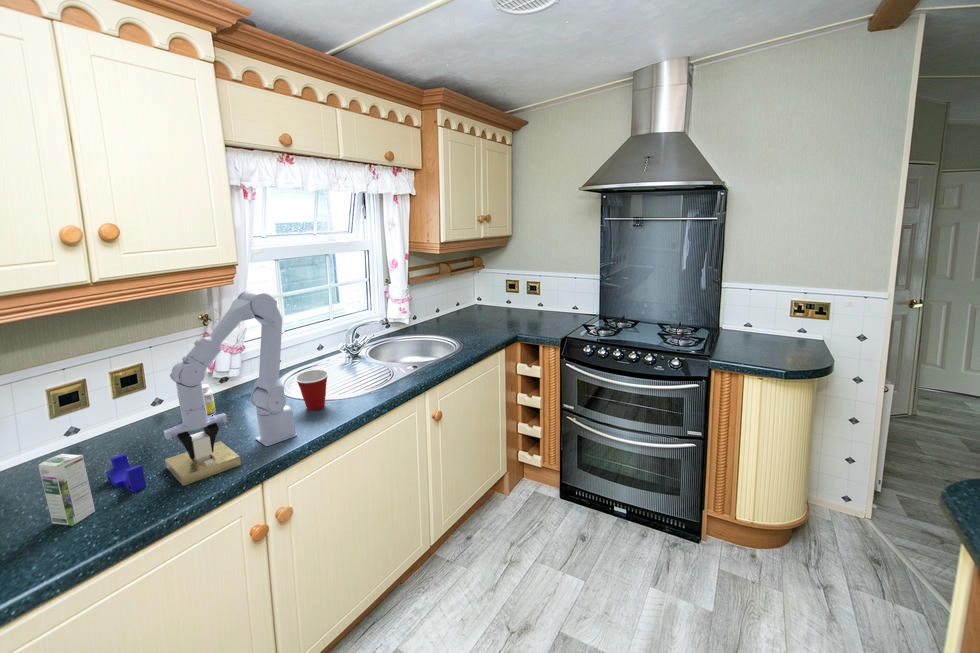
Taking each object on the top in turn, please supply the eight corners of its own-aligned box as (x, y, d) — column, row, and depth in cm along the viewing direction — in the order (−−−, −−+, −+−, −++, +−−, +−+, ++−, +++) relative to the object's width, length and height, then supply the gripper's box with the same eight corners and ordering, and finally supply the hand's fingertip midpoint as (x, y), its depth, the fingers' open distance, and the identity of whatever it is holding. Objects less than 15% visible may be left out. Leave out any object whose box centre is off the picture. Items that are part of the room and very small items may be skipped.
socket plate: (221, 449, 147) (220, 438, 146) (241, 464, 138) (239, 453, 137) (166, 467, 137) (164, 456, 137) (183, 485, 128) (180, 473, 127)
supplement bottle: (196, 415, 173) (190, 386, 170) (214, 410, 176) (209, 382, 174) (199, 419, 169) (193, 390, 166) (217, 415, 172) (212, 386, 170)
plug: (207, 458, 141) (202, 431, 139) (214, 464, 137) (209, 436, 135) (191, 463, 138) (186, 436, 136) (197, 469, 134) (192, 441, 133)
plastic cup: (293, 414, 170) (289, 380, 168) (306, 402, 181) (302, 369, 178) (325, 413, 170) (321, 379, 167) (336, 401, 180) (332, 369, 178)
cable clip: (108, 481, 132) (103, 460, 130) (128, 474, 135) (124, 453, 134) (125, 496, 125) (120, 473, 123) (146, 488, 128) (141, 466, 127)
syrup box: (51, 524, 114) (35, 464, 110) (76, 509, 119) (62, 452, 116) (72, 526, 113) (57, 466, 109) (97, 511, 118) (83, 453, 115)
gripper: (217, 395, 141) (224, 440, 144) (156, 411, 131) (166, 459, 134) (226, 401, 137) (234, 448, 140) (164, 418, 126) (174, 468, 130)
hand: (201, 454), depth 137 cm, fingers closed on plug, 4 cm apart
